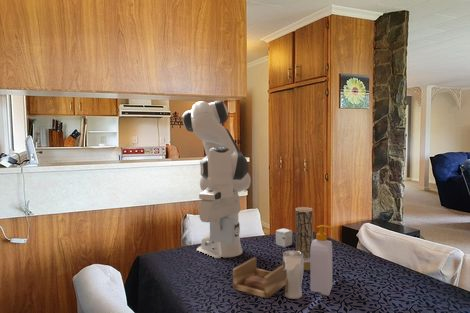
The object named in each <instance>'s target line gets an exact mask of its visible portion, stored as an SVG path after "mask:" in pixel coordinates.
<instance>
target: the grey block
mask: <svg viewBox="0 0 470 313" xmlns="http://www.w3.org/2000/svg"><path fill="white" fill-rule="evenodd" d="M220 225H222V230H220V231H217V230H216V225H215V223H214V222H213V221H212V222H209V232H210V240H211V241H216V242H221V243H226V244H234V243H235V225H234V218H227V217H224V218H221V219H220Z"/></svg>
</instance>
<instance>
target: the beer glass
mask: <svg viewBox="0 0 470 313" xmlns="http://www.w3.org/2000/svg"><path fill="white" fill-rule="evenodd" d="M282 265H283V274H284V279H285V285H284V287H285V290H284V296H285V297H286V298H288V299H292V300H296V299H301V298H302V297H303V291H302V284H303V280H304V279H303V277H304V271H305V270H304V262H303V253H301V252H299V251H296V250H287V251H284V252H283V254H282Z"/></svg>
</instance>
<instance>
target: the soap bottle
mask: <svg viewBox="0 0 470 313" xmlns="http://www.w3.org/2000/svg"><path fill="white" fill-rule="evenodd" d="M324 228H326V229H330V230H333V227H331V225H327V224H326V225H324V224H320V225H317V226H316V229H319V232H317V233H316V234H315V237H316V239H314V238H313V240H312V243H311V249H310V270H309V272H310V274H309V275H310V280H309V281H310V283H309V284H310V292H315V293H319V295H322V296H330V294H331V290H332V288H333V243H332V241H331V240H328V238H327V233H326V232H324Z"/></svg>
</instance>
